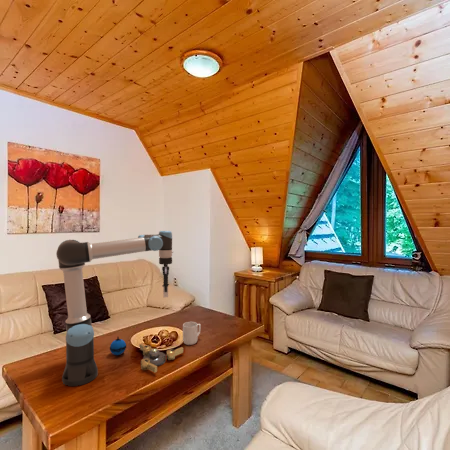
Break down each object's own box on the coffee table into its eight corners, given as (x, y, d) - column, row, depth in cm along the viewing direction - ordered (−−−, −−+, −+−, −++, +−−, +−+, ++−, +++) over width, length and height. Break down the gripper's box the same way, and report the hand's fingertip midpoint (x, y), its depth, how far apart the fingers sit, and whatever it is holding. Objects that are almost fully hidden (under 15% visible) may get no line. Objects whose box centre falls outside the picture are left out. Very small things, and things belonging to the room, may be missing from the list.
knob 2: (139, 368, 141) (139, 360, 141) (146, 364, 145) (146, 356, 145) (152, 374, 135) (152, 366, 135) (159, 370, 139) (159, 362, 139)
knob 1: (152, 353, 156) (152, 346, 156) (145, 356, 153) (145, 349, 153) (144, 347, 164) (144, 340, 163) (136, 350, 161) (136, 343, 160)
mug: (188, 347, 167) (188, 328, 167) (180, 342, 173) (180, 324, 173) (204, 341, 175) (204, 323, 174) (196, 336, 181) (196, 319, 181)
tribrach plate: (142, 368, 143) (142, 356, 143) (143, 357, 154) (143, 346, 154) (165, 365, 145) (165, 353, 145) (165, 355, 157) (165, 344, 157)
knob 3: (170, 360, 149) (170, 353, 148) (165, 358, 151) (165, 350, 151) (185, 353, 156) (185, 346, 156) (179, 351, 159) (179, 344, 159)
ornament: (109, 352, 160) (109, 335, 159) (125, 349, 163) (125, 332, 163) (109, 359, 152) (109, 341, 151) (126, 356, 155) (126, 338, 155)
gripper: (172, 258, 161) (172, 299, 161) (171, 255, 174) (171, 293, 174) (158, 258, 159) (159, 300, 160) (159, 255, 172) (159, 294, 173)
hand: (165, 296), depth 167 cm, fingers closed
